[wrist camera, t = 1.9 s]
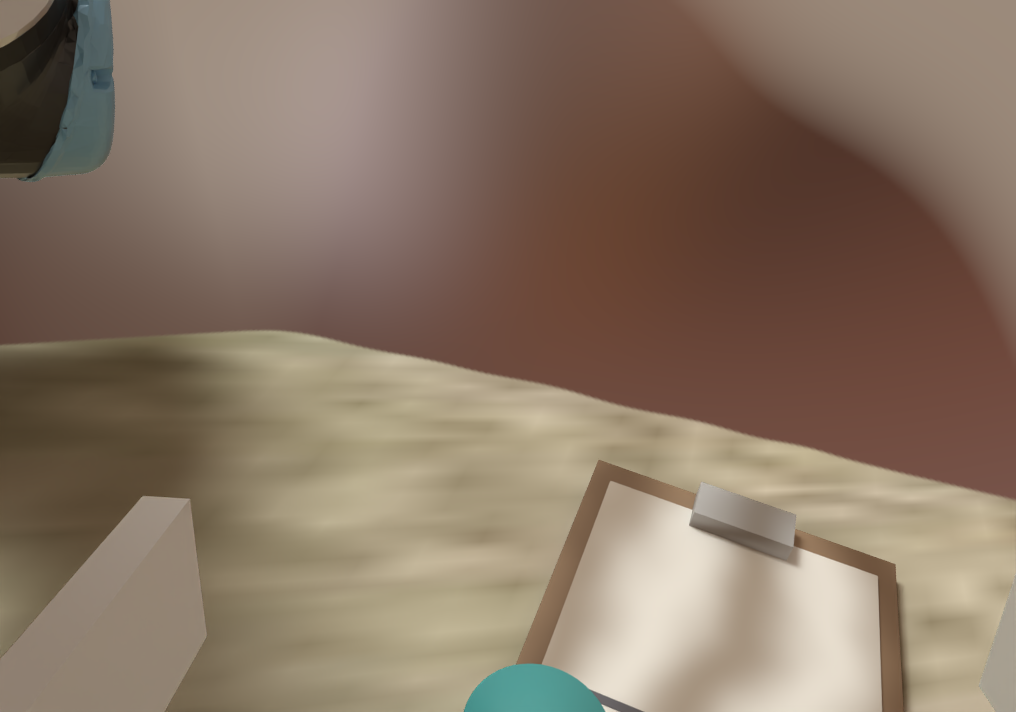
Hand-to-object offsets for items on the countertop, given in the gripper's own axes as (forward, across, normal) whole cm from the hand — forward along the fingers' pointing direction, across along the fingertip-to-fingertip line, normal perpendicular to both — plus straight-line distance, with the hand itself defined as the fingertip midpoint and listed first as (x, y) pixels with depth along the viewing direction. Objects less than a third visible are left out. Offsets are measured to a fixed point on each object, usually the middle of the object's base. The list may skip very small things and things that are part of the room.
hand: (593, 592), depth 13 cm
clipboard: (+18, +8, -18) cm, 26 cm away
